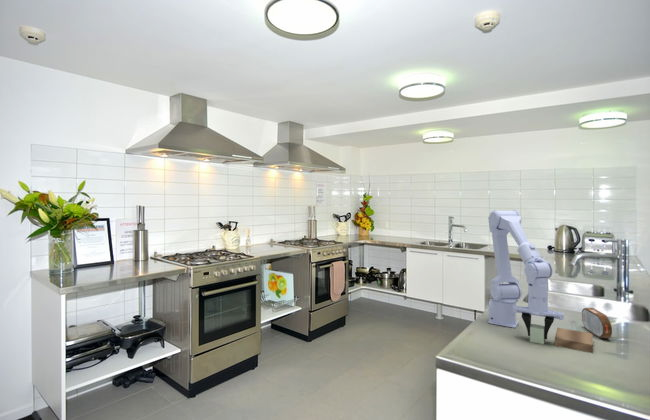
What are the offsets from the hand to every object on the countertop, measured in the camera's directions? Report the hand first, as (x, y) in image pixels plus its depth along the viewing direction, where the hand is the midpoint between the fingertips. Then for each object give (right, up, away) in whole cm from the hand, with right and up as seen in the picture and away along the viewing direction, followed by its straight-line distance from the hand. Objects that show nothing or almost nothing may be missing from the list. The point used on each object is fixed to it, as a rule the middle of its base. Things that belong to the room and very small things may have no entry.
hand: (537, 336), depth 120 cm
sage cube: (0, -1, 0) cm, 1 cm away
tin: (+25, -2, +7) cm, 26 cm away
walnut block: (+11, -2, -2) cm, 11 cm away
